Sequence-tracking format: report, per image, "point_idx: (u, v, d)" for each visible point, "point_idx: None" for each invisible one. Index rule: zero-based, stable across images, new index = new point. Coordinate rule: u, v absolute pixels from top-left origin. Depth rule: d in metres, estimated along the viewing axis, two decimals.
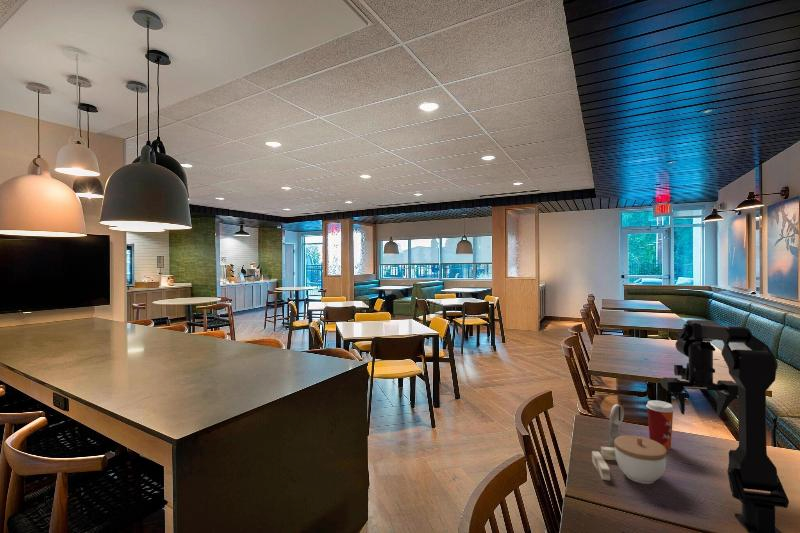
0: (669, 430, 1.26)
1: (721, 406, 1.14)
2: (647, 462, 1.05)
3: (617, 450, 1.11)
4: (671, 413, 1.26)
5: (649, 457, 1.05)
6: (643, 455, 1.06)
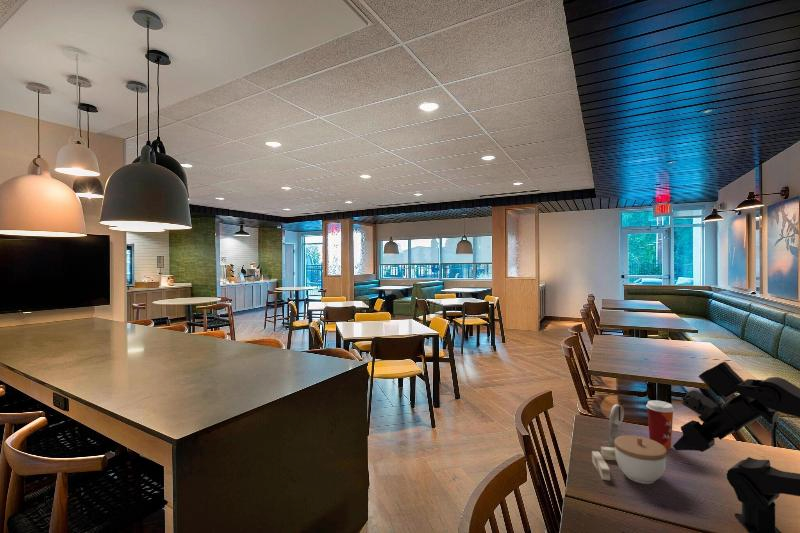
0: (669, 430, 1.26)
1: None
2: (647, 462, 1.05)
3: (617, 450, 1.11)
4: (671, 413, 1.26)
5: (649, 457, 1.05)
6: (643, 455, 1.06)
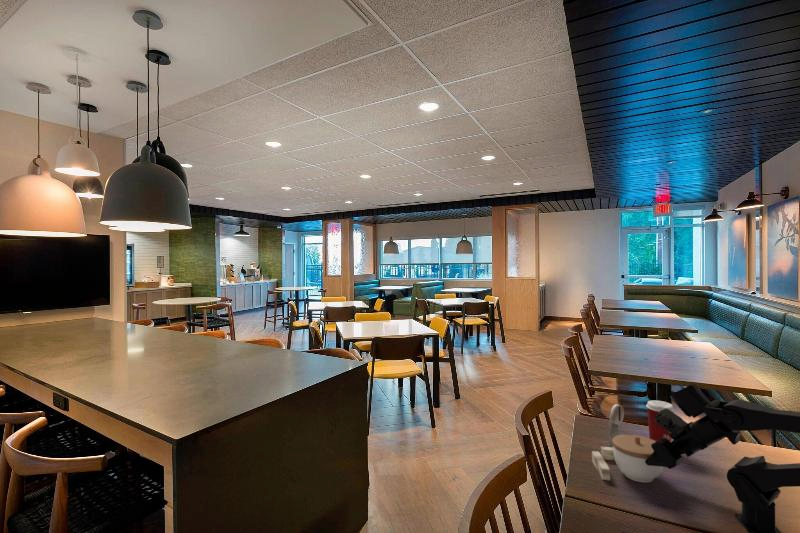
0: None
1: None
2: (645, 460, 1.06)
3: (615, 449, 1.12)
4: None
5: (648, 455, 1.05)
6: (641, 454, 1.06)
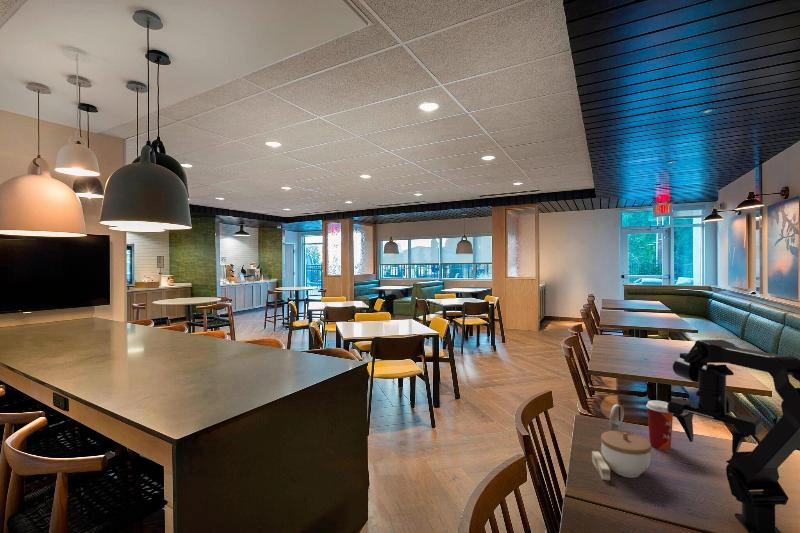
0: (669, 430, 1.26)
1: None
2: (632, 456, 1.09)
3: (603, 445, 1.15)
4: (671, 413, 1.26)
5: (634, 451, 1.08)
6: (628, 449, 1.09)
